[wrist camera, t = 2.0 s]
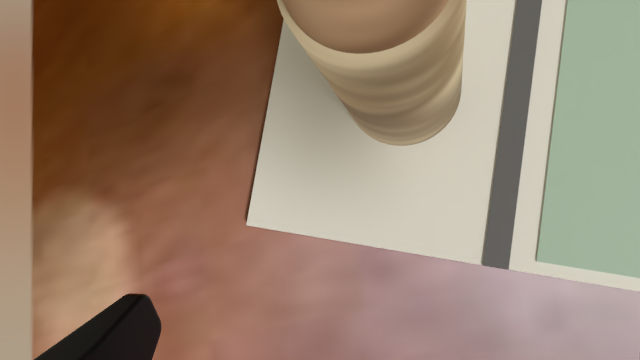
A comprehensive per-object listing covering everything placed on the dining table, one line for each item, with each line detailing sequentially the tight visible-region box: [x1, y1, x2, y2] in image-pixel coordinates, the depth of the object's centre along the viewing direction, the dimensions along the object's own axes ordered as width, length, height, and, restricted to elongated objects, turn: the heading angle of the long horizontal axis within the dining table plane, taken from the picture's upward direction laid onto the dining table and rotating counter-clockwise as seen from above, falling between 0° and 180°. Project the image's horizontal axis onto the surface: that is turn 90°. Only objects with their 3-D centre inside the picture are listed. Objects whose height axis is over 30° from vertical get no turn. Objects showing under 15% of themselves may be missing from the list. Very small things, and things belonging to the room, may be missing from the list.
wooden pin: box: [277, 0, 467, 146], centre depth 17 cm, size 5×5×12 cm
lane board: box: [246, 0, 640, 292], centre depth 21 cm, size 22×14×1 cm, turn 80°
